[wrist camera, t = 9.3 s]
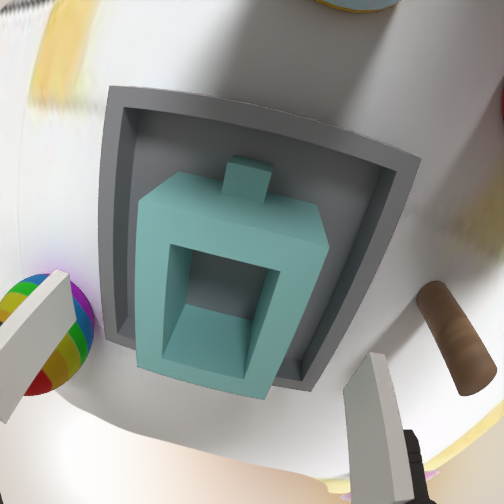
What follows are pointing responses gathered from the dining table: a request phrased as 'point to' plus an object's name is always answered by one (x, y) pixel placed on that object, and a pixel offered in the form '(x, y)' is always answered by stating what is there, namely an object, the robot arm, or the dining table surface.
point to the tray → (281, 182)
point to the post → (456, 339)
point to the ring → (233, 247)
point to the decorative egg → (70, 347)
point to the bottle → (359, 5)
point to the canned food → (503, 104)
